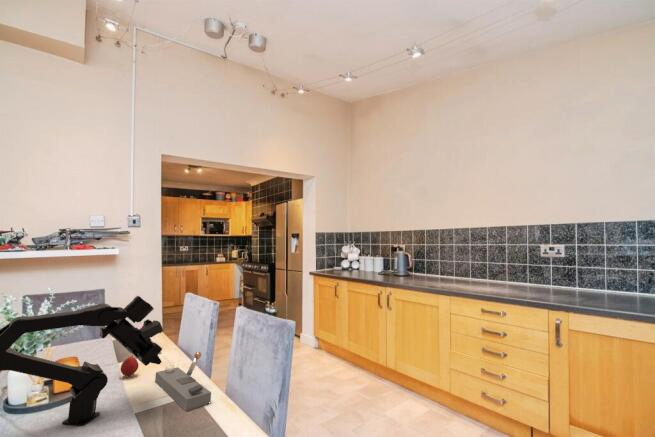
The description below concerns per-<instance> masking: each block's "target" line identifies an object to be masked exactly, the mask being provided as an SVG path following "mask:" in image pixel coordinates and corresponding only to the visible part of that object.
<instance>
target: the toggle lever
mask: <svg viewBox="0 0 655 437" xmlns="http://www.w3.org/2000/svg"><path fill="white" fill-rule="evenodd" d="M193 356H194V357H193V360H192V362H191V364H190V366H189V368H188V370H187V372H186V374H187V375H189V376H191V377H192V374H193V371H194V370H195V368H196V366H197V364H198V361H199V359H200V358H202V352H200V351H198V352H195V353H194V355H193Z"/></svg>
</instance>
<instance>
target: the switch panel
mask: <svg viewBox="0 0 655 437" xmlns="http://www.w3.org/2000/svg"><path fill="white" fill-rule="evenodd" d="M154 382H155V383H156V384H157V385H158V386H159V388H161V389H162V390H163V391H164V392H165V393H166V394H167V395H168V396H169V397H171V399H173V400H174V402H176V404H178V405H179V406H180V407H181V408H182V409H183V410H184V411H185V412H187V411H190V410H194V409H198V408H200V407H199V406H201V407H203V406H202V405H204V404H207V403H209V402H210V403H211V398H212V391H210V390H209V389H207V388H206V387H205V386H204V385H203V384H201V383H199V382H198V381H197V380H196V379H195V378H194V377H192V375H191V376H189V375H187V372H185V371H183V370H182V369H181V368H180V367H178V366H177V367H174V372H172V373H166V372H165V369H164V370H163V369H162V370H161V371H160V370H159V371H156V372H155V380H154ZM199 384H200V385H201V386H202V387H203V390H201V391H199V392H197V393H195V394H193V395H192V394H190V393H189V389H190V388H192V387H195V386H197V385H199ZM207 405H208V404H207ZM204 406H205V405H204Z"/></svg>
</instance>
